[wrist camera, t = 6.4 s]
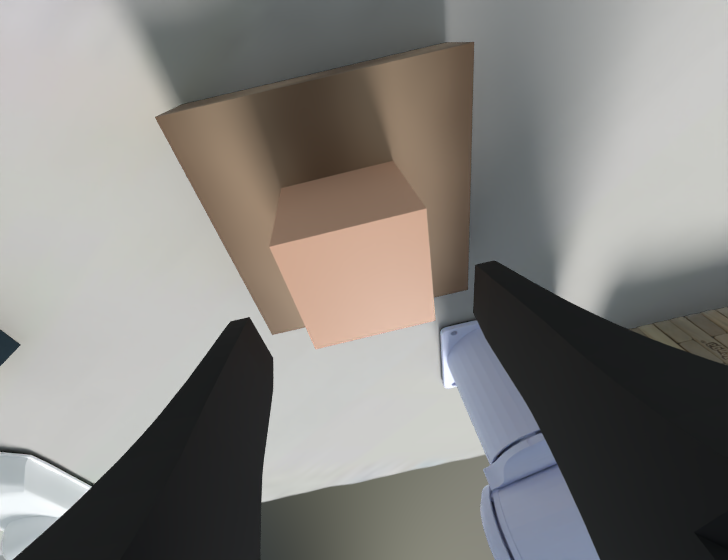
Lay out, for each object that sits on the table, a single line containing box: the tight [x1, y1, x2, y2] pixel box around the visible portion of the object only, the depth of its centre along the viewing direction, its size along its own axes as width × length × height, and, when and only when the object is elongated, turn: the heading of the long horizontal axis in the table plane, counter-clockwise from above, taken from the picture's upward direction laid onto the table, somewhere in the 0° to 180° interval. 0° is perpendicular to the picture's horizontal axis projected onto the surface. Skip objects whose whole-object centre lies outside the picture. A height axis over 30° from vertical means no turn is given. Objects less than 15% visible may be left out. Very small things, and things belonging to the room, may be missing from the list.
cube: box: [269, 161, 435, 349], centre depth 13 cm, size 5×5×5 cm
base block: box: [155, 42, 474, 335], centre depth 16 cm, size 12×12×3 cm
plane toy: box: [0, 452, 92, 560], centre depth 30 cm, size 10×20×6 cm, turn 12°
